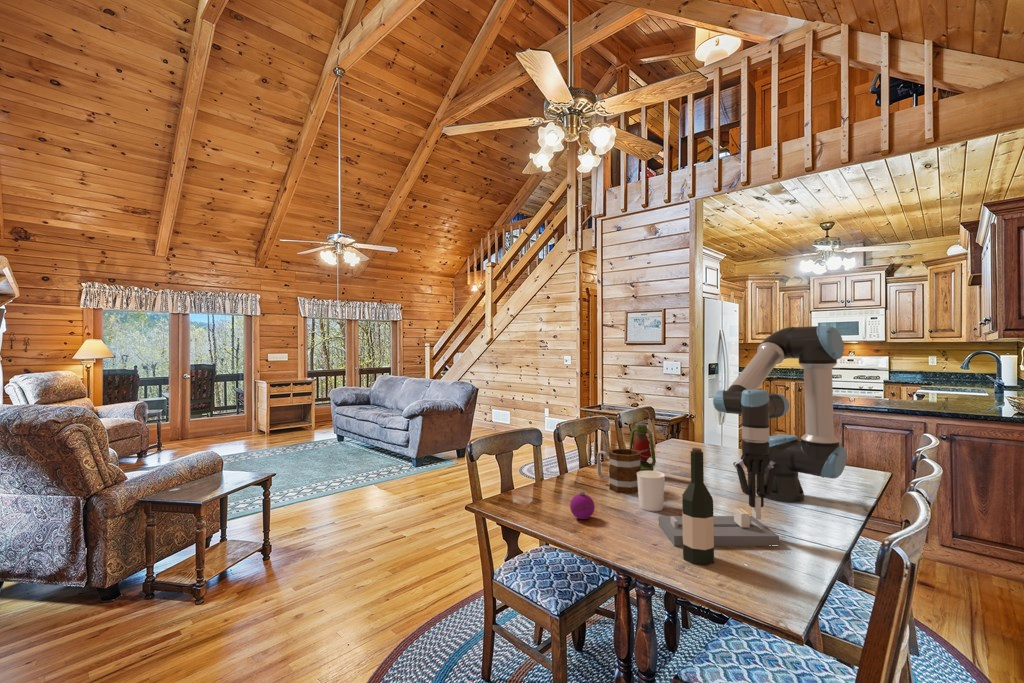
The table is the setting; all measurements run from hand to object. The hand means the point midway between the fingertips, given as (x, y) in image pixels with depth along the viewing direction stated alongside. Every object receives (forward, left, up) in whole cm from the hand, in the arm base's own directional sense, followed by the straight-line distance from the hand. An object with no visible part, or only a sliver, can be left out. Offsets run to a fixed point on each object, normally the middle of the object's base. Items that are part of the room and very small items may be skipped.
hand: (756, 517), depth 145 cm
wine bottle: (+23, +16, -6) cm, 29 cm away
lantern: (+18, -67, -6) cm, 70 cm away
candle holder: (+25, -25, -6) cm, 36 cm away
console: (+12, 0, -6) cm, 14 cm away
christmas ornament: (+51, -14, -6) cm, 54 cm away
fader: (+4, 0, -2) cm, 5 cm away
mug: (+32, -49, -6) cm, 59 cm away
